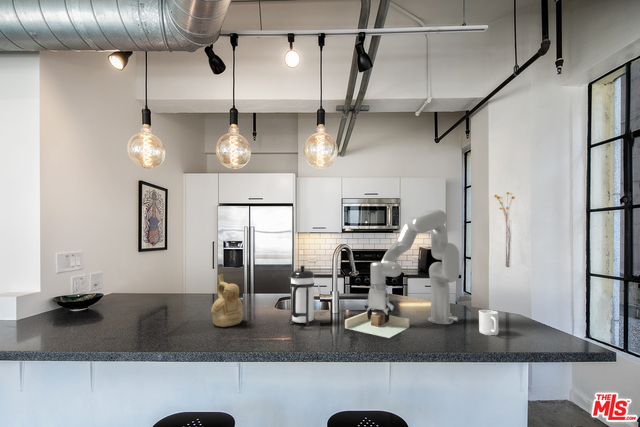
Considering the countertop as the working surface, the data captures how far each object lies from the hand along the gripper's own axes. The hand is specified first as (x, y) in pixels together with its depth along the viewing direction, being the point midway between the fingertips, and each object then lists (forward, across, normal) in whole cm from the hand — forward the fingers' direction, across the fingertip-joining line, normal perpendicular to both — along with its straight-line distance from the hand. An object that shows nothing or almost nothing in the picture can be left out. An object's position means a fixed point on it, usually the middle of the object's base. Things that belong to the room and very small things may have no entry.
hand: (378, 320), depth 174 cm
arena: (+3, -2, +4) cm, 6 cm away
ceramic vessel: (+3, +63, +46) cm, 78 cm away
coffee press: (+3, +33, +22) cm, 40 cm away
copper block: (+2, 0, 0) cm, 2 cm away
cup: (+3, -48, -22) cm, 53 cm away
